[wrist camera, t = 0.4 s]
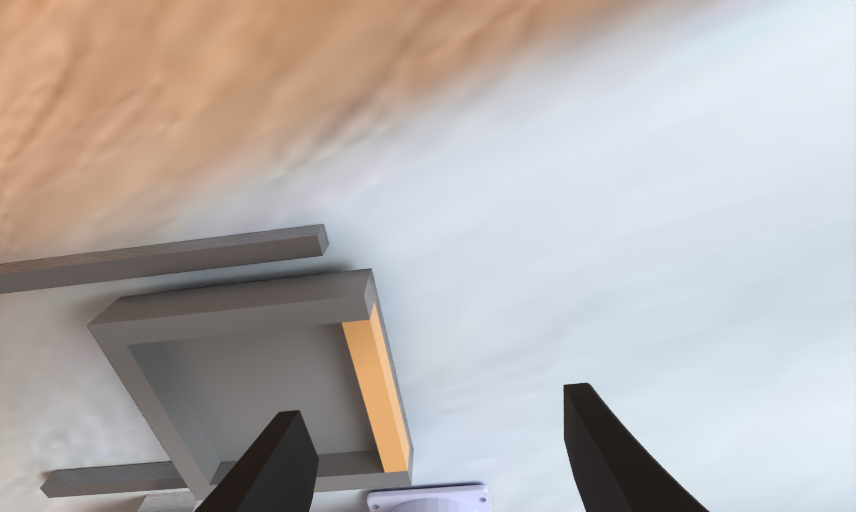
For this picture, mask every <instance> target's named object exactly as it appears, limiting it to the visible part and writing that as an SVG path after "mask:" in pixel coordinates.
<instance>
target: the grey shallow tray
mask: <svg viewBox="0 0 856 512" xmlns="http://www.w3.org/2000/svg"><path fill="white" fill-rule="evenodd" d="M87 327H88V328H89V330H90V332H91V333H92V335H93V336H94V338H95V339H96V341H97V343H98V344H99V346H100V347H101V349H102V351H103V352H104V354H105V355H106V357H107V359H108V360H109V362H110V363H111V365H112V367H113V368H114V370H115V371H116V373H117V375H118V376H119V378H120V379H121V381H122V382H123V384H124V386H125V387H126V389H127V390H128V392H129V394H130V395H131V397H132V398H133V400H134V402H135V403H136V405H137V406H138V408H139V410H140V411H141V413H142V414H143V416H144V418H145V419H146V421H147V422H148V424H149V426H150V427H151V429H152V430H153V432H154V433H155V435H156V437H157V438H158V440H159V441H160V443H161V445H162V446H163V448H164V449H165V451H166V453H167V454H168V456H169V457H170V459H171V461H172V462H173V464H174V465H175V467H176V469H177V470H178V472H179V473H180V475H181V477H182V478H183V480H184V481H185V483H186V484H187V486H188V488H189V489H190V491H191V492H192V494H193V496H194V497H195V499H196V500H197V501H198V500H205V499H206V497H207V496H208V495H209V494H210V493H211V492H212V491H213V490H214V489H215V488H216V486H217V485H218V484H219V483H220V482H221V481H222V479H223V478H224V477H225V476H226V475H227V474H228V472H229V471H230V470H231V469H232V468H233V466H234V465H235V464H236V463H237V462H238V461H239V459H240V458H241V457H242V456H243V454H244V453H245V452H246V451H247V450H248V448H249V447H250V446H251V445H252V444H253V442H254V441H255V440H256V439H257V437H258V436H259V435H260V434H261V432H262V431H263V430H264V429H265V428H266V426H267V425H268V424H269V423H270V422H271V420H272V419H273V418H274V417H275V416H276V414H277V413H278V412H282V411H292V410H300V412H301V415H302V417H303V420H304V422H305V425H306V427H307V430H308V432H309V435H310V437H311V440H312V443H313V445H314V448H315V450H316V453H317V455H318V458H319V463H318V470H317V476H316V482H315V488H314V492H327V491H341V490H356V489H370V488H384V487H399V486H411V483H412V467H413V450H414V449H413V445H412V441H411V436H410V432H409V428H408V424H407V419H406V415H405V411H404V406H403V402H402V398H401V393H400V389H399V385H398V380H397V376H396V372H395V367H394V363H393V359H392V354H391V350H390V346H389V342H388V337H387V333H386V329H385V324H384V320H383V316H382V311H381V307H380V303H379V298H378V294H377V290H376V285H375V281H374V277H373V272H372V268H370V269H361V270H353V271H344V272H335V273H326V274H318V275H309V276H300V277H291V278H283V279H274V280H265V281H256V282H248V283H239V284H230V285H221V286H212V287H204V288H195V289H186V290H177V291H169V292H160V293H151V294H142V295H134V296H125V297H120V298H119V299H118V300H117V301H115V302H114V303H113V304H112V305H111V306H109V307H108V308H107V309H106V310H105V311H103V312H102V313H101V314H100V315H99V316H97V317H96V318H95V319H94V320H93V321H91V322H90V323H89V324H88V325H87Z"/></svg>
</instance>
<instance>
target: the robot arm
mask: <svg viewBox="0 0 856 512" xmlns="http://www.w3.org/2000/svg"><path fill="white" fill-rule="evenodd" d="M564 441H565V445H566V449H567V453H568V457H569V461H570V465H571V468H572V472H573V476H574V479H575V482H576V485H577V488H578V491H579V493H580V496H581V499H582V501H583V504H584V507H585V510H586V512H709V511H708V510H707V509H706V508H705V507H704V506H703V505H701V504H700V503H699V502H698V501H697V500H696V499H695V498H694V497H693V496H692V495H691V494H690V493H689V492H687V491H686V490H685V489H684V488H683V487H682V486H681V485H680V484H679V483H678V482H677V481H676V480H675V479H674V478H673V477H672V476H671V475H670V474H669V473H668V472H667V471H666V470H665V469H664V468H663V467H662V466H661V465H660V464H659V463H658V462H657V461H656V460H655V459H654V458H653V457H652V456H651V455H650V454H649V453H648V452H647V450H646V449H645V448H644V447H643V446H642V445H641V444H640V443H639V442H638V441H637V440H636V439H635V438H634V436H633V435H632V434H631V433H630V432H629V431H628V430H627V429H626V427H625V426H624V425H623V424H622V423H621V422H620V421H619V419H618V418H617V417H616V416H615V415H614V413H613V412H612V411H611V410H610V409H609V407H608V406H607V405H606V404H605V403H604V401H603V400H602V399H601V398H600V396H599V395H598V394H597V392H596V391H595V390H594V388H593V387H592V386H591V385H590V384H588V383H579V384H568V385H564ZM318 463H319V458H318V455H317V453H316V450H315V448H314V445H313V443H312V440H311V437H310V435H309V432H308V430H307V427H306V425H305V422H304V420H303V417H302V415H301V412H300V410H292V411H282V412H278V413H277V414H276V416H275V417H274V418H273V419H272V420H271V422H270V423H269V424H268V425H267V426H266V428H265V429H264V430H263V431H262V432H261V434H260V435H259V436H258V437H257V439H256V440H255V441H254V442H253V444H252V445H251V446H250V447H249V448H248V450H247V451H246V452H245V453H244V454H243V456H242V457H241V458H240V459H239V461H238V462H237V463H236V464H235V465H234V466H233V468H232V469H231V470H230V471H229V472H228V474H227V475H226V476H225V477H224V478H223V479H222V481H221V482H220V483H219V484H218V485H217V486H216V488H215V489H214V490H213V491H212V492H211V493H210V494H209V495H208V496H207V497H206V499H205V500H204V501H203V502H202V503H201V504H200V505H199V506H198V507H197V509H196V510H195V511H194V512H309V510H310V506H311V502H312V499H313V493H314V488H315V482H316V476H317V470H318ZM367 504H368V507H369V510H370V512H492V511H491V503H490V494H489V489H488V487H487V486H485V485H471V486H457V487H442V488H428V489H413V490H398V491H384V492H372V493H370V494H368V496H367Z"/></svg>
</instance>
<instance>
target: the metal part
mask: <svg viewBox="0 0 856 512" xmlns="http://www.w3.org/2000/svg"><path fill="white" fill-rule="evenodd" d="M203 501H204V500H198V501H197V500H196V499H195V497H194V496H193V494H192V492H191V491H188V492H174V493H160V494H148V495H147V496H146V498H145V499H144V501H143V503H142V504H141V506H140V507H139V509H138V511H137V512H194V511H195V510H196V509H197V507H198V506H199V505H200V504H201V503H202V502H203Z"/></svg>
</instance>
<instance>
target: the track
mask: <svg viewBox="0 0 856 512" xmlns="http://www.w3.org/2000/svg"><path fill="white" fill-rule="evenodd" d="M328 245H329V242H328V238H327V234H326V231H325V227H324V224H320V225H312V226H304V227H296V228H288V229H280V230H272V231H264V232H256V233H248V234H240V235H232V236H224V237H216V238H208V239H200V240H191V241H183V242H175V243H167V244H159V245H151V246H143V247H135V248H127V249H119V250H111V251H103V252H95V253H87V254H79V255H71V256H63V257H55V258H47V259H39V260H31V261H22V262H14V263H6V264H0V294H2V293H11V292H19V291H28V290H36V289H45V288H53V287H62V286H70V285H78V284H87V283H95V282H104V281H112V280H121V279H129V278H138V277H146V276H155V275H163V274H172V273H180V272H189V271H197V270H206V269H214V268H223V267H231V266H240V265H248V264H257V263H265V262H274V261H282V260H291V259H299V258H308V257H316V256H323V255H324V253H325V251H326V249H327V247H328ZM178 488H188V486H187V484H186V483H185V481H184V480H183V478H182V477H181V475H180V473H179V472H178V470H177V469H176V467H175V465H174V464H173V462H160V463H148V464H135V465H122V466H109V467H96V468H84V469H71V470H58V471H54V473H53V474H52V475H51V476H50V477H49V478H48V479H47V481H46V482H45V483H44V484H43V485H42V486H41V487H40V489H41V490H42V491H43V492H44V493H45V494H46V496H47V497H48V498H54V497H68V496H81V495H95V494H109V493H123V492H137V491H150V490H164V489H178Z"/></svg>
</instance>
